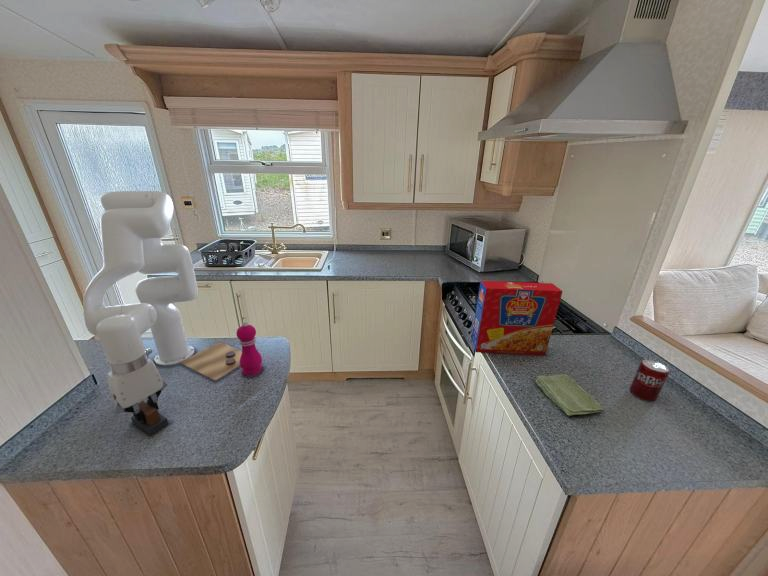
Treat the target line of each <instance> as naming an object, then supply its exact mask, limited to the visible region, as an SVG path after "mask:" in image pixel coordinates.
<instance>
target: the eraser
mask: <svg viewBox="0 0 768 576" xmlns="http://www.w3.org/2000/svg"><path fill="white" fill-rule="evenodd" d="M138 405H139V408H140V409H141V410H142V411H143V412H144V416H145V419H146V422H145V423H142V422H141V421H137V420H136V419H135V417H134V415H133V416H131V417H130V419H131V422H132V423H133V424H134V425H135V426H136V427H138V428H140V429H141V430H142V431H144V432H145V433H147V434H148V435H150V436H152V435H154V434H156V433H157V432H158V431H160V430H162V429H163V428H164V427H166V426H168V425H169V422H168V419H167V418H166V417H165V416H163V415H161V414H160V413H159V411H157V409H155V408H153V407H152V406H150V405H149V404H147V401H144V400H141V401H139V402H138ZM158 413H159V414H158Z"/></svg>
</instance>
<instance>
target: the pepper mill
mask: <svg viewBox="0 0 768 576" xmlns="http://www.w3.org/2000/svg"><path fill="white" fill-rule="evenodd" d="M256 335H257V330H256V328H255V327H254V325H252V324H249V323H248V322H247V321H243V322H242V323H241V325H240V326H239V327H238V328H237V329H236V338H237V339H238V340H239V341H238V342H239V345H240V346H241V351H242V354H241V357H240V365H239V366H240V368H242V374H243V375H245V376H254V375H257V374H259V373H260V372H262V370H263V367H262V363H263V357H262V354H261V353H260V352H259V350H258V349H257V347H256V341H257V339H256Z"/></svg>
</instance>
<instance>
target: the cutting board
mask: <svg viewBox="0 0 768 576" xmlns="http://www.w3.org/2000/svg"><path fill="white" fill-rule="evenodd" d="M230 351H234V352H235V356H234V357H231V358H234V359H235V361H236V362H235V363H234V364H233V365H226V360H228V359H230V358H227V357H226V353H227V352H230ZM241 354H242V350H241V349H238V348H235V347H233V346H231V345H228V344H225V343H223V342H221V341H218V342H216V343H214V344H212V345H211V346H208V347H207V348H205V349H203V350H201V351H199V352H196V353H195V354H193V355H192V356H191V357H189V358H188V359H186V360H184V361H182V362H179V364H182V365H183V366H186V367H188V369H191V370H193V371H195V372H198V373H199V374H201V375H203V376H205V377H207V378H209V379H212V380H214V381H217V380H219V379H220V378H222V377H224V376H225V375H226V374H228V373H231V372H232V371H233V370H234V369H236V368H238V367H239V366H240V357H241Z"/></svg>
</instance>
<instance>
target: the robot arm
mask: <svg viewBox="0 0 768 576" xmlns="http://www.w3.org/2000/svg"><path fill="white" fill-rule="evenodd" d="M172 200H173V199H172V198H171V197H170V195H169V194H168V193H166V192H164V191H160V190H159V191H158V190H157V191H156V190H147V191H145V190H144V191H143V190H142V191H141V190H139V191H138V190H117V191H116V190H115V191H109V192H105V193H103V194H101V195H100V197H99V203H100V206H101V208H102V209H103V211H104V212H102V213H101V215H100V216H99V227H100V239H101V250H102V260H103V263H102V268H101V269H100V270H99V271H98V272H97V273H96V274H95V275H94V276H93V278H92V279H91V280H90V282H89V283H88V285H87V286H86V289H85V291H84V294H83V299H82V307H83V319H84V324H85V328H86V330H87V331H88V332H89V333H90V334H92V335H93V336H97V337H98V339H99V342H100V344H101V345H100V346H101V348H102V350H103V352H104V355H105V358H106V360H107V364H108V367H109V368H110V370H109V371H108V373H107V382H108V387H109V392H110V395H111V399H112V401H113V406H112V413H113V414H115V415H119V414H124V413H131V414H133V416H134V417H135V419H136V420H137V421H141V422H142V423H145V422H146V419H145V416H144V412H143V411H142V410H141V409H140V408H139V405H138V404H139V403H140V402H142V401H144V400H145V399H146V398H147V400H146V403H147V404H149V405H150V406H152V407H153V408H155V409H157V411H158V410H159V409H160V408H159V405H158V401H159V397H160V395H161V393H162V391H164V390H165V389H166V388H167V387H168V383H166V381H164V380H163V378H162V376H161V374H160V372H159V370H158V368H157V366H156V365H159V366H171V365H176V364H180V362H182V361H184V360H186V359H188V358H189V357H191V356H193V355H194V353H195V348H194V347H193V346H192V345H189V342H188V339H187V335H186V330H185V326H184V322H183V319H182V315H181V312H180V310H179V309H178V307H177V306H175V305H174V304H175V303H176V304H179V303H184V302H191V301H194V300H196V299H197V298H198V295H199V288H198V283H197V277H196V273H195V268H194V263H193V258H192V254H191V252H190V250H189V249H188V247H187V246H185V245H184V244H182V243H181V244H180V243H170V244H169V243H168V244H164V243H163V241H162V238H164V237H166V236H167V234H168V232H169V230H170V226H171V222H172V219H173V217H174V203H173V201H172ZM135 273H140V274H143V275H158V274H169V273H176V274H177V275H164V276H152V277H146V278H144V279H141V280H139V281H138V282H137V284H136V285H135V293H136V294H135V295H136V297H137V299H138V301H139V302H137V303H127V304H118V305H109V306H104V299H105V295H106V293H107V291H108V290H109V289H110V288H111V287H112V286H113V285H115V284H116V283H117V282H119V281H120V280H123V279H124V278H126V277H128V276H131V275H133V274H135ZM148 330H150V331H151V334H152V338H153V342H154V344H155V349H156V352H157V354H156V355H155V356H154V358H153V359H154V360H152V358H150V357H149V355H150V354H152V353H153V350H152V348H145V345H144V342H143V339H142V335H143V334H145V333H146V332H147V331H148ZM155 364H156V365H155ZM158 414H160V413H159V411H158Z"/></svg>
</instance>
